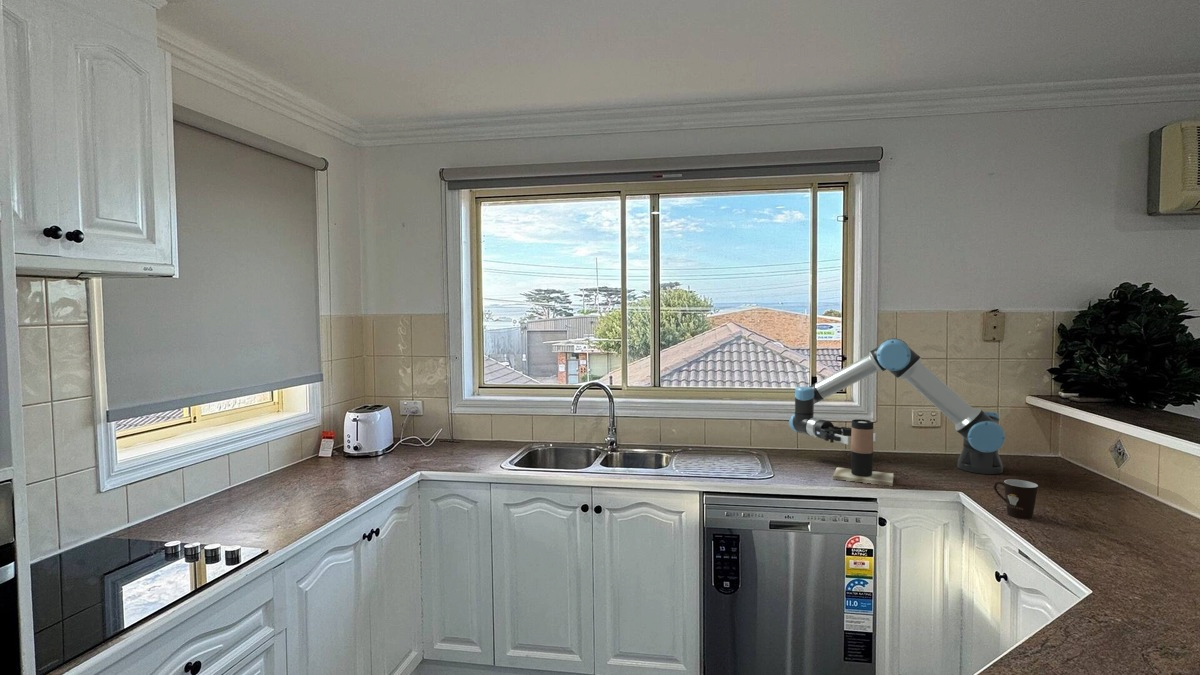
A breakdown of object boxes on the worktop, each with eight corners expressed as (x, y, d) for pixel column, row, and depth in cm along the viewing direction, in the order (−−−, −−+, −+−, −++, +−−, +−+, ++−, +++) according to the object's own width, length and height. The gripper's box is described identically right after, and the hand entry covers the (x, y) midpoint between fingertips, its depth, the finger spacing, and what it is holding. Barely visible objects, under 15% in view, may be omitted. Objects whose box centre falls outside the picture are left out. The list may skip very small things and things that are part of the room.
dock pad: (893, 477, 230) (893, 473, 230) (892, 486, 219) (892, 482, 219) (836, 471, 239) (836, 467, 239) (832, 479, 228) (833, 475, 228)
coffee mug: (1043, 520, 184) (1045, 487, 183) (1014, 520, 184) (1015, 487, 183) (1018, 507, 195) (1019, 476, 195) (990, 507, 195) (991, 476, 195)
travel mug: (847, 474, 229) (848, 421, 228) (855, 470, 235) (855, 418, 234) (868, 478, 224) (869, 423, 223) (875, 473, 230) (876, 421, 229)
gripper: (844, 435, 253) (886, 445, 234) (796, 440, 243) (836, 452, 224) (844, 417, 253) (886, 426, 233) (796, 422, 243) (836, 432, 223)
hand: (862, 439), depth 229 cm, fingers open, 13 cm apart
